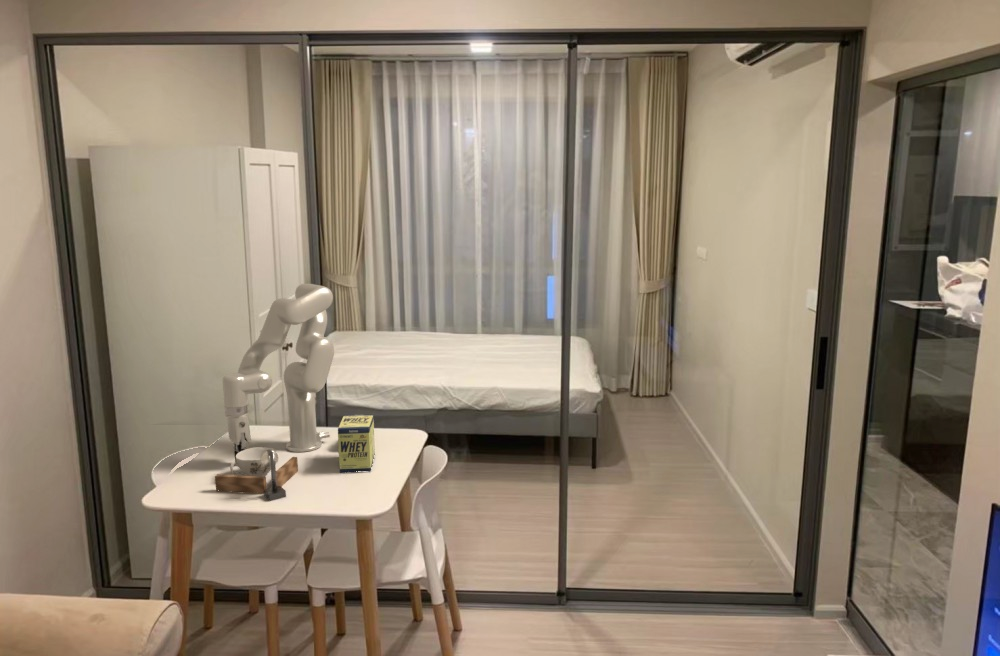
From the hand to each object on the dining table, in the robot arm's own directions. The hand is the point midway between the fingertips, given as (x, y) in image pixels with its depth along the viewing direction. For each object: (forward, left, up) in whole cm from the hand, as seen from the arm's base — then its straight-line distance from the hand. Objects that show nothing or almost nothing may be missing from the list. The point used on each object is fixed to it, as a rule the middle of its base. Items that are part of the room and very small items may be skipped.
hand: (240, 461), depth 244 cm
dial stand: (0, +33, -1) cm, 33 cm away
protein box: (-32, +24, -1) cm, 40 cm away
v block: (0, +23, -1) cm, 23 cm away
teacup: (0, +13, -1) cm, 13 cm away
